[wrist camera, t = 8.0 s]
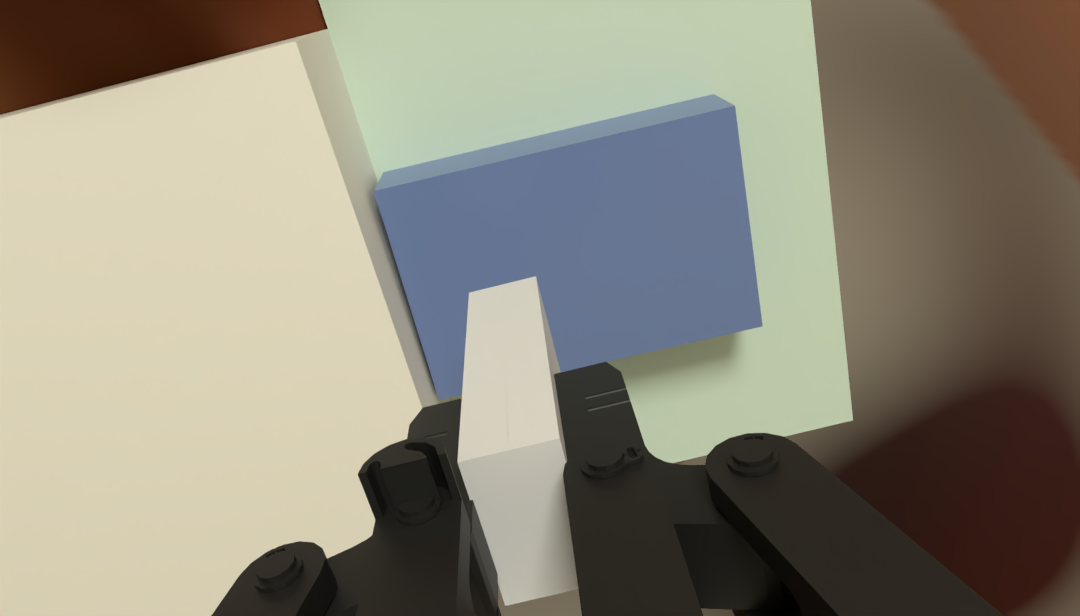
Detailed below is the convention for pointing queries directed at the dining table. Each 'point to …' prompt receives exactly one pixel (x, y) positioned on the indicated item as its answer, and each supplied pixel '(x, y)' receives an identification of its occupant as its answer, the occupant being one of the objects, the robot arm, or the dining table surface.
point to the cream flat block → (192, 333)
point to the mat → (619, 89)
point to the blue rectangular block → (583, 235)
